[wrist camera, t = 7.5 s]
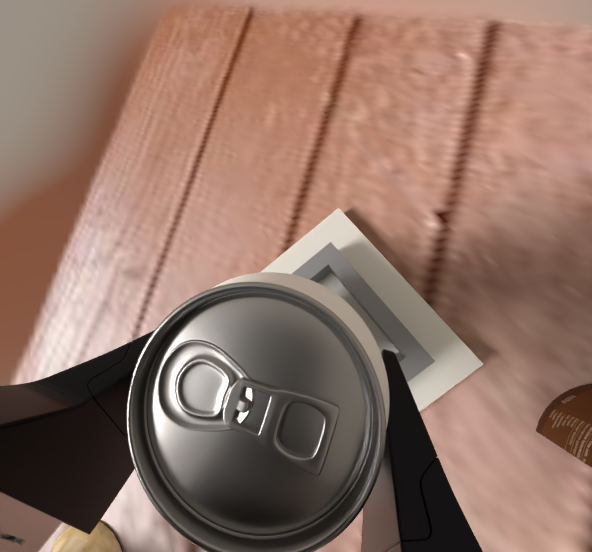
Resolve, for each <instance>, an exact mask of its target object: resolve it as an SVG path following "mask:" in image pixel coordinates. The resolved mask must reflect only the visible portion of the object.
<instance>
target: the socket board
mask: <svg viewBox="0 0 592 552" xmlns="http://www.w3.org/2000/svg"><path fill="white" fill-rule="evenodd" d="M262 272H276V273H286V274H292V275H296V276H300V277H304V278H307V279H309V280H312V281H314V282H317V283H319V284H321V285H323V286H324V287H326V288H328V289H330V290H331V291H333V292H334V293H336V294H337V295H338V296H340V297H341V298H342V299H343V300H344V301H346V302H347V303H348V304H349V305H350V306H351V307H352V308H353V309H354V310H355V311H356V312H357V314H358V315H359V316H360V317H361V319H362V320H363V321H364V323H365V324H366V325H367V327H368V329H369V330H370V332H371V334H372V335H373V337H374V339H375V341H376V343H377V346H378V348H379V350H380V353H381V351H382V350H383V349H386V350H390V351H393V352H394V353H395V354H396V356H397V359H398V361H399V364H400V366H401V368H402V371H403V373H404V376H405V378H406V381H407V383H408V385H409V388H410V390H411V393H412V395H413V398H414V400H415V402H416V405H417V407H418V410H419V412H420V411H421V410H423V409H424V408H426V407H427V406H428V405H430V404H431V403H432V402H434V401H435V400H436V399H438V398H439V397H440V396H442V395H443V394H444V393H446V392H447V391H448V390H450V389H451V388H452V387H454V386H455V385H456V384H458V383H459V382H460V381H462V380H463V379H464V378H466V377H467V376H468V375H470V374H471V373H473V372H474V371H475V370H477V369H478V368H479V367H481V366H482V365H483V363H482V362H481V361H480V360H479V359H478V358H477V357H476V355H475V354H474V353H473V352H472V351H471V350H470V349H469V348H468V347H467V346H466V345H465V344H464V343H463V341H462V340H461V339H460V338H459V337H458V336H457V335H456V334H455V333H454V332H453V331H452V330H451V329H450V327H449V326H448V325H447V324H446V323H445V322H444V321H443V320H442V319H441V318H440V317H439V316H438V314H437V313H436V312H435V311H434V310H433V309H432V308H431V307H430V306H429V305H428V304H427V303H426V302H425V300H424V299H423V298H422V297H421V296H420V295H419V294H418V293H417V292H416V291H415V290H414V289H413V288H412V286H411V285H410V284H409V283H408V282H407V281H406V280H405V279H404V278H403V277H402V276H401V275H400V274H399V272H398V271H397V270H396V269H395V268H394V267H393V266H392V265H391V264H390V263H389V262H388V261H387V259H386V258H385V257H384V256H383V255H382V254H381V253H380V252H379V251H378V250H377V249H376V248H375V247H374V245H373V244H372V243H371V242H370V241H369V240H368V239H367V238H366V237H365V236H364V235H363V234H362V233H361V231H360V230H359V229H358V228H357V227H356V226H355V225H354V224H353V223H352V222H351V221H350V220H349V219H348V217H347V216H346V215H345V214H344V213H343V212H342V211H341V210H340V209H339V208H338V209H336V210H335V211H334V212H333V213H332V214H330V215H329V216H328V217H327V218H326V219H324V220H323V221H322V222H321V223H320V224H318V225H317V226H316V227H315V228H313V229H312V230H311V231H310V232H309V233H307V234H306V235H305V236H304V237H303V238H301V239H300V240H299V241H298V242H297V243H295V244H294V245H293V246H292V247H290V248H289V249H288V250H287V251H286V252H284V253H283V254H282V255H281V256H280V257H278V258H277V259H276V260H275V261H274V262H272V263H271V264H270V265H269V266H267V267H266V268H265V269H264V270H263V271H261V272H260V273H262Z"/></svg>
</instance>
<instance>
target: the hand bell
mask: <svg viewBox="0 0 592 552" xmlns="http://www.w3.org/2000/svg"><path fill="white" fill-rule="evenodd" d="M51 552H122V550H121V547H120V545H119V543H118V541H117V539H116V537H115V536H114V534H113V533H112V532H111V530H110V529H109V528H108V527H106V526H105V525H104V524H103V523H101V522H99V523H98V524H97V526H96V527H95V528H94V530H93V531H92V532H91V534H90V535H88V534H86V533H84V532H82V531H80V530H78V529H76V528H74V527H72V526H68V527H67V528H66V529H65V530H64V531H63V533H62V534H61V535H60V536H59V538H58V539H57V541H56V543H55V544H54V546H53V548H52V551H51Z"/></svg>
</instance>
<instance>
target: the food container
mask: <svg viewBox="0 0 592 552" xmlns="http://www.w3.org/2000/svg"><path fill="white" fill-rule="evenodd" d="M536 431H537V432H538V433H540V434H541V435H543V436H544V437H546V438H547V439H549V440H550V441H552V442H554V443H555V444H557V445H558V446H560V447H561V448H563V449H564V450H566V451H567V452H569V453H570V454H572V455H573V456H575V457H576V458H578V459H580V460H581V461H583V462H584V463H586V464H587V465H589V466H590V467H592V384H589V385H583V386H579V387H576V388H573V389H571V390H569V391H567V392H565V393H563V394H561V395H560V396H559V397H557V398H556V399H555V400H554V401H552V402H551V404H550V405H549V406H548V407H547V408H546V409H545V411H544V413H543V414H542V416H541V418H540V420H539V423H538V426H537V429H536Z"/></svg>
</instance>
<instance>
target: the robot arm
mask: <svg viewBox="0 0 592 552" xmlns="http://www.w3.org/2000/svg"><path fill="white" fill-rule="evenodd" d="M154 331H155V330H154ZM154 331H152V332H150V333H148V334H146V335H144V336H142V337H140V338H138V339H136V340H133V341H132V342H129V343H127V344H125V345H123V346H121V347H119V348H117V349H114V350H112V351H110V352H108V353H106V354H103V355H101V356H99V357H96V358H94V359H92V360H89V361H87V362H84V363H82V364H79V365H77V366H74V367H72V368H69V369H67V370H64V371H62V372H59V373H57V374H55V375H52V376H50V377H47V378H44V379H41V380H38V381H35V382H30V383H25V384H18V385H7V386H0V552H39V551H40V550H41V548H42V547H43V546H44V545H45V543H46V542H47V541H48V540H49V538H50V537H51V536H52V535H53V533H54V532H55V531H56V530H57V528H58V527H59V526H60V525H61V523H62V522H63V523H65V524H68V525H70V526H72V527H74V528H76V529H78V530H80V531H82V532H84V533H86V534H88V535H90V534H91V532H92V531H93V530H94V528H95V527H96V526H97V524H98V523H99V521H100V520H101V518H102V517H103V515H104V514H105V512H106V511H107V509H108V508H109V506H110V505H111V503H112V502H113V500H114V499H115V497H116V496H117V494H118V493H119V491H120V490H121V488H122V487H123V485H124V484H125V482H126V481H127V479H128V478H129V476H130V475H131V473H132V472H133V470H134V469H135V467H134V464H133V461H132V458H131V454H130V449H129V444H128V438H127V427H126V408H127V398H128V391H129V386H130V382H131V378H132V374H133V371H134V368H135V366H136V363H137V360H138V358H139V356H140V354H141V352H142V350H143V348H144V346H145V344H146V343H147V341H148V339H149V338H150V336H151V335H152V334H153V332H154ZM381 356H382V359H383V362H384V365H385V369H386V373H387V378H388V385H389V417H388V424H387V428H386V440H385V449H384V456H383V460H382V465H381V468H380V472H379V475H378V478H377V481H376V483H375V486H374V488H373V490H372V492H371V494H370V496H369V498H368V500H367V502H366V503H365V505H364V507H363V526H362V544H361V552H483V551H482V549H481V547H480V545H479V543H478V541H477V540H476V538H475V536H474V534H473V532H472V530H471V528H470V526H469V524H468V522H467V520H466V518H465V516H464V514H463V512H462V510H461V508H460V506H459V504H458V502H457V500H456V498H455V496H454V493H453V491H452V489H451V486H450V484H449V482H448V480H447V477H446V475H445V473H444V470H443V468H442V465H441V463H440V461H439V458H436V457H437V453H436V451H435V449H434V446H433V444H432V441H431V439H430V436H429V434H428V432H427V429H426V427H425V424H424V422H423V419H422V417H421V415H420V412H419V410H418V407H417V405H416V402H415V400H414V398H413V395H412V393H411V390H410V388H409V385H408V383H407V381H406V378H405V376H404V373H403V371H402V368H401V366H400V364H399V361H398V359H397V356H396V354H395V353H394V352H393V351H390V350H386V349H383V350H382V351H381Z"/></svg>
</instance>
